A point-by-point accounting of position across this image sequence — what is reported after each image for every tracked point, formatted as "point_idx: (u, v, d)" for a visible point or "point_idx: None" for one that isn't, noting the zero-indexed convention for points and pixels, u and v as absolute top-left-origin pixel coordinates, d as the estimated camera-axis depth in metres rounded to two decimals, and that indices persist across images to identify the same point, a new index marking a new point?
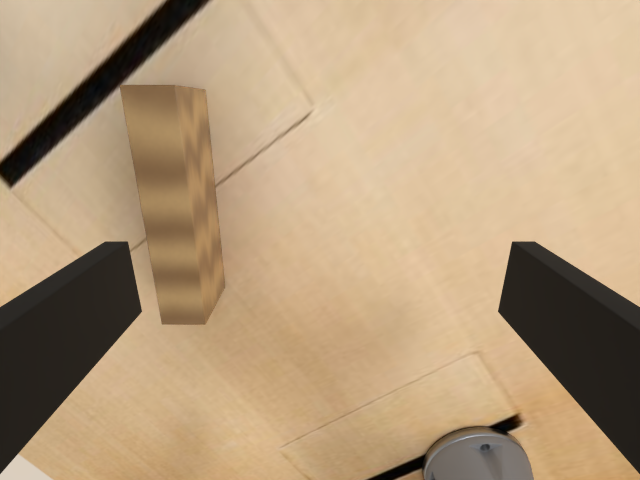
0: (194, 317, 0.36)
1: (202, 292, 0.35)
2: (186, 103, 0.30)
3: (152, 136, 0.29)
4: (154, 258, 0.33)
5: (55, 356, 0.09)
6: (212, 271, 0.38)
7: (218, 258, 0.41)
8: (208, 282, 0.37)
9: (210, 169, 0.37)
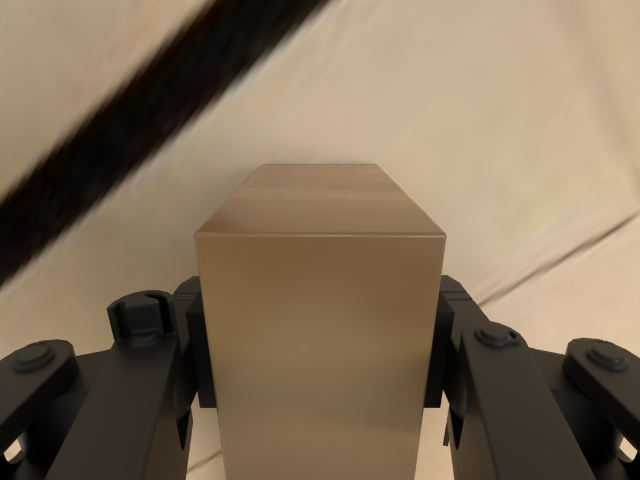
0: None
1: None
2: None
3: (311, 409, 0.07)
4: None
5: None
6: None
7: None
8: None
9: None
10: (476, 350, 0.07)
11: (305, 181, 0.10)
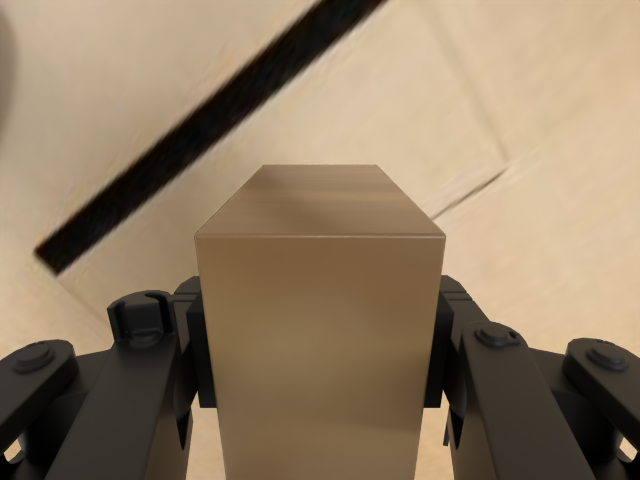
0: None
1: None
2: None
3: (311, 409, 0.07)
4: None
5: None
6: None
7: None
8: None
9: None
10: (476, 350, 0.07)
11: (305, 182, 0.10)
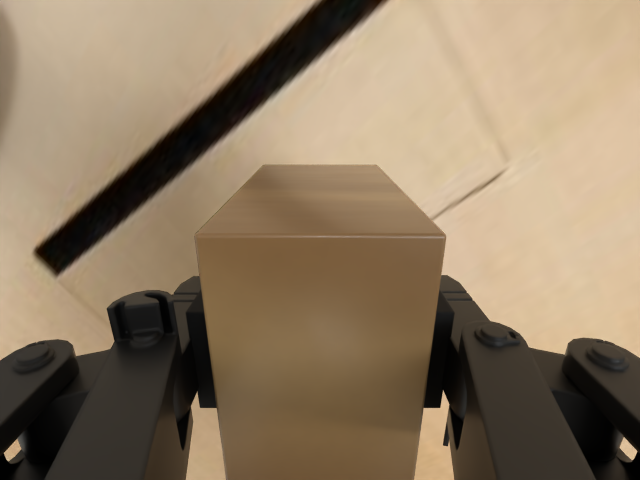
0: None
1: None
2: None
3: (311, 409, 0.07)
4: None
5: None
6: None
7: None
8: None
9: None
10: (476, 350, 0.07)
11: (305, 182, 0.10)
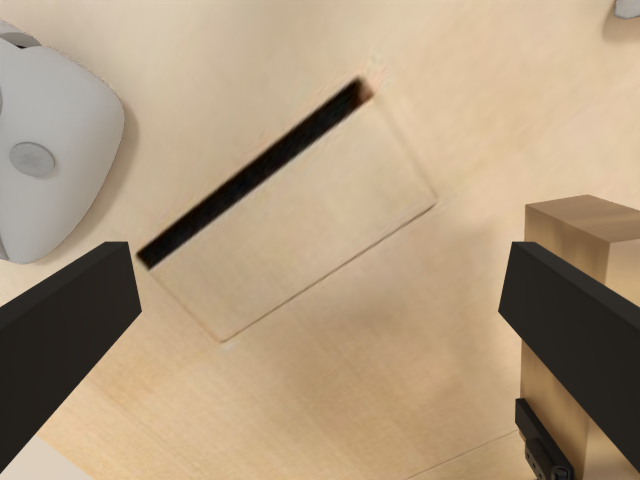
0: None
1: None
2: None
3: None
4: (592, 453, 0.23)
5: (55, 356, 0.09)
6: None
7: None
8: None
9: None
10: None
11: (583, 212, 0.22)
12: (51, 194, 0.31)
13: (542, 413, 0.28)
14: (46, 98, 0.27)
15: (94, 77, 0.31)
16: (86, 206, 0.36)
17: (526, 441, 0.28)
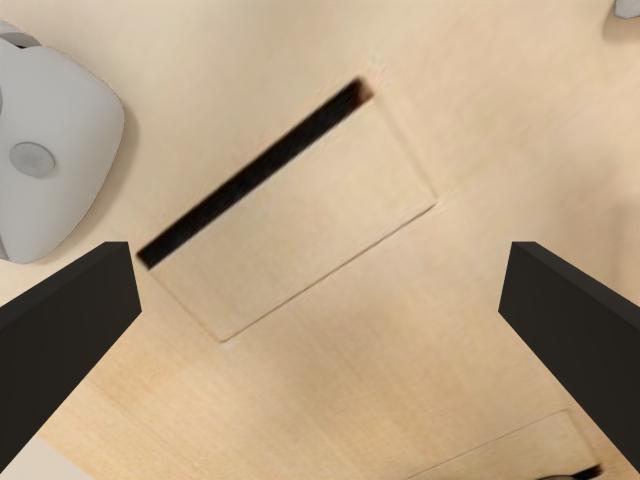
0: None
1: None
2: None
3: None
4: None
5: (55, 356, 0.09)
6: None
7: None
8: None
9: None
10: None
11: None
12: (51, 194, 0.31)
13: None
14: (46, 98, 0.27)
15: (94, 77, 0.31)
16: (86, 206, 0.36)
17: None
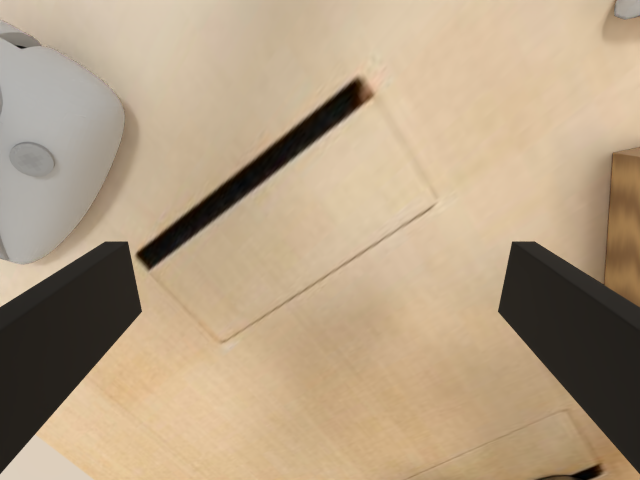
0: None
1: None
2: None
3: None
4: None
5: (55, 356, 0.09)
6: None
7: None
8: None
9: None
10: None
11: None
12: (51, 194, 0.31)
13: None
14: (46, 98, 0.27)
15: (94, 77, 0.31)
16: (86, 206, 0.36)
17: None
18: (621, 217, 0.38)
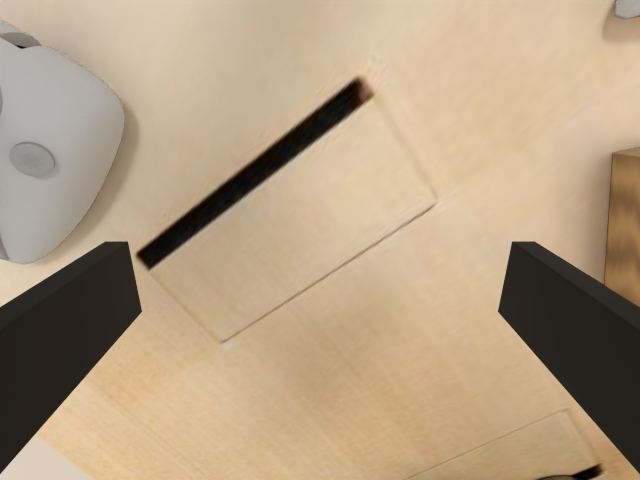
0: None
1: None
2: None
3: None
4: None
5: (55, 356, 0.09)
6: None
7: None
8: None
9: None
10: None
11: None
12: (51, 194, 0.31)
13: None
14: (46, 98, 0.27)
15: (94, 77, 0.31)
16: (86, 206, 0.36)
17: None
18: (621, 217, 0.38)
